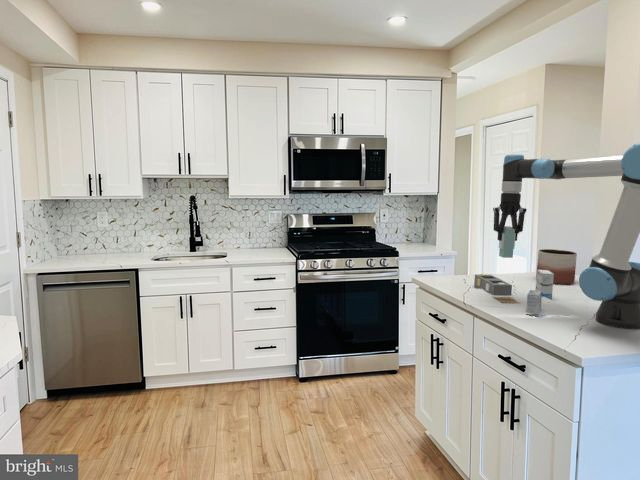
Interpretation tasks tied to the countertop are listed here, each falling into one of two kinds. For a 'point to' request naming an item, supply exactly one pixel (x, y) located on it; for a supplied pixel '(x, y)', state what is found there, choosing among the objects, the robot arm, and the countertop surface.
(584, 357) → the countertop surface
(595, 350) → the countertop surface
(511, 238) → the plug
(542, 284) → the ink box
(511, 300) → the brown flat block
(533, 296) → the medicine box
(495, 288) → the socket strip
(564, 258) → the planter
